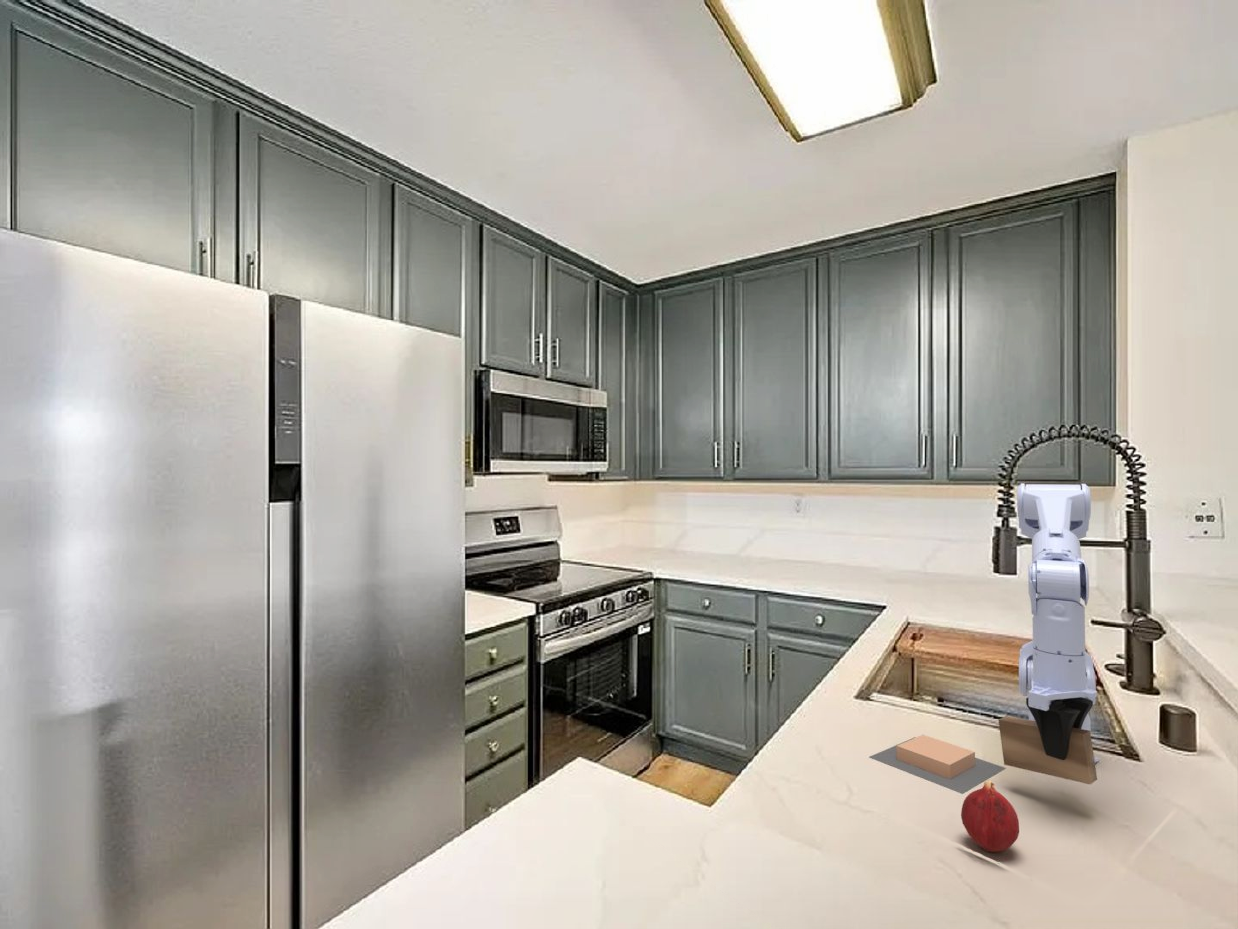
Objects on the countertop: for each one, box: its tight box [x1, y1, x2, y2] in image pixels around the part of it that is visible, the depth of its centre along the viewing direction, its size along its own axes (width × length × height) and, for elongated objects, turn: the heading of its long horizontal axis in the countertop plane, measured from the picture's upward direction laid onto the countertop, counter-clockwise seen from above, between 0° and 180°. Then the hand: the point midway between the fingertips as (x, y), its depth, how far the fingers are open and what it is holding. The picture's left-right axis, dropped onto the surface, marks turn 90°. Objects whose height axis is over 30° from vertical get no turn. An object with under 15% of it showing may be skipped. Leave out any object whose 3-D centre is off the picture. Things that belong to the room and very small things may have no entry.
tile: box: [897, 734, 976, 779], centre depth 94 cm, size 8×2×8 cm
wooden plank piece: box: [998, 715, 1098, 785], centre depth 82 cm, size 2×10×6 cm, turn 36°
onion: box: [960, 779, 1020, 853], centre depth 71 cm, size 6×6×8 cm
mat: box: [868, 736, 1007, 795], centre depth 94 cm, size 14×14×1 cm
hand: (1060, 754), depth 81 cm, fingers closed on wooden plank piece, 2 cm apart
